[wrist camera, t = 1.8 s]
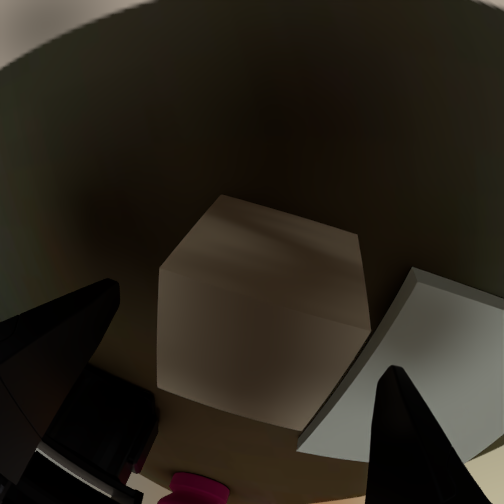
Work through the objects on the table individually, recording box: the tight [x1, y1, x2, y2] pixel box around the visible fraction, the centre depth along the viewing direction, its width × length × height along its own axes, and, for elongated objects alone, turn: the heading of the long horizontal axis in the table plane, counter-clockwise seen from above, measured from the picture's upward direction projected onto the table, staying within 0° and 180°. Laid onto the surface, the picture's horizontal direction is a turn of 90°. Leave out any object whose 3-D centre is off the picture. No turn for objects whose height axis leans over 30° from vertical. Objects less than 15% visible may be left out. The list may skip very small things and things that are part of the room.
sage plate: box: [296, 267, 504, 464], centre depth 14 cm, size 14×14×1 cm
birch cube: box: [157, 194, 371, 431], centre depth 10 cm, size 5×5×5 cm
